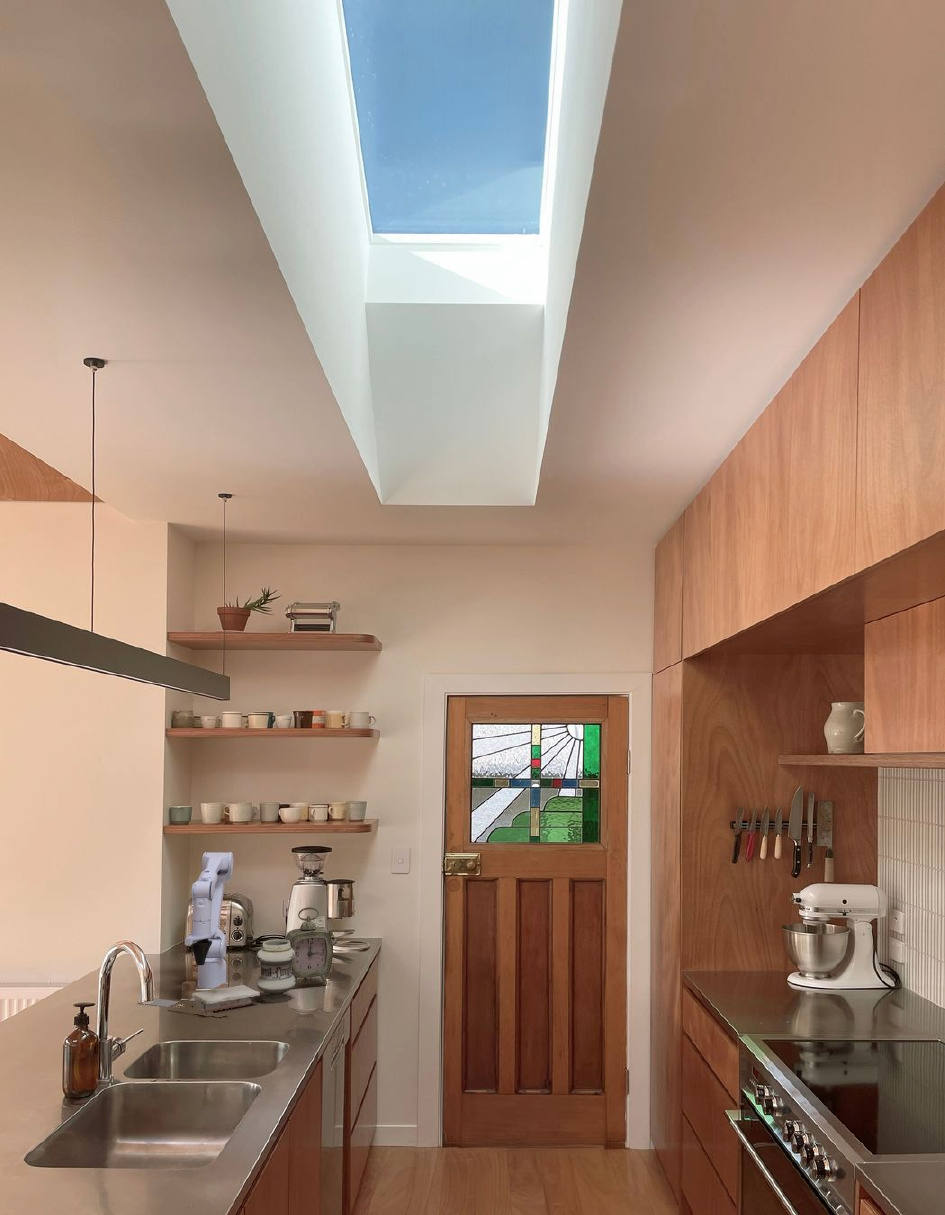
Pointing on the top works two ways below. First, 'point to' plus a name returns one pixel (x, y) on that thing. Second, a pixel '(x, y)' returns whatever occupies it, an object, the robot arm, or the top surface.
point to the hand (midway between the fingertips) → (200, 964)
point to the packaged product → (223, 998)
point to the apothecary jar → (276, 970)
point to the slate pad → (160, 1002)
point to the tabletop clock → (310, 949)
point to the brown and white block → (188, 990)
